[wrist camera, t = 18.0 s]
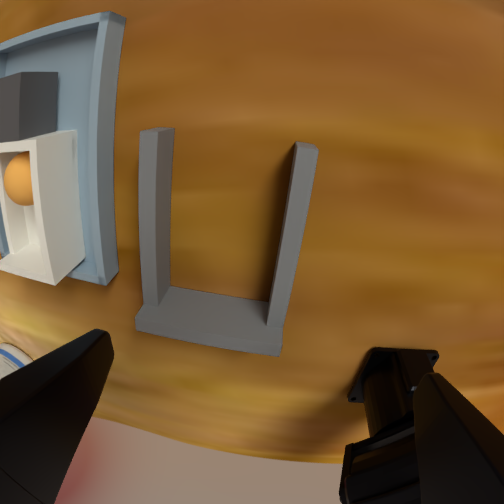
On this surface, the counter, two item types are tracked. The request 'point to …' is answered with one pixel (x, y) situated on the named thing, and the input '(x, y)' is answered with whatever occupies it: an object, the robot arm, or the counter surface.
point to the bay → (203, 303)
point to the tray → (81, 120)
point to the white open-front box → (40, 181)
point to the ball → (19, 180)
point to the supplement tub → (11, 359)
